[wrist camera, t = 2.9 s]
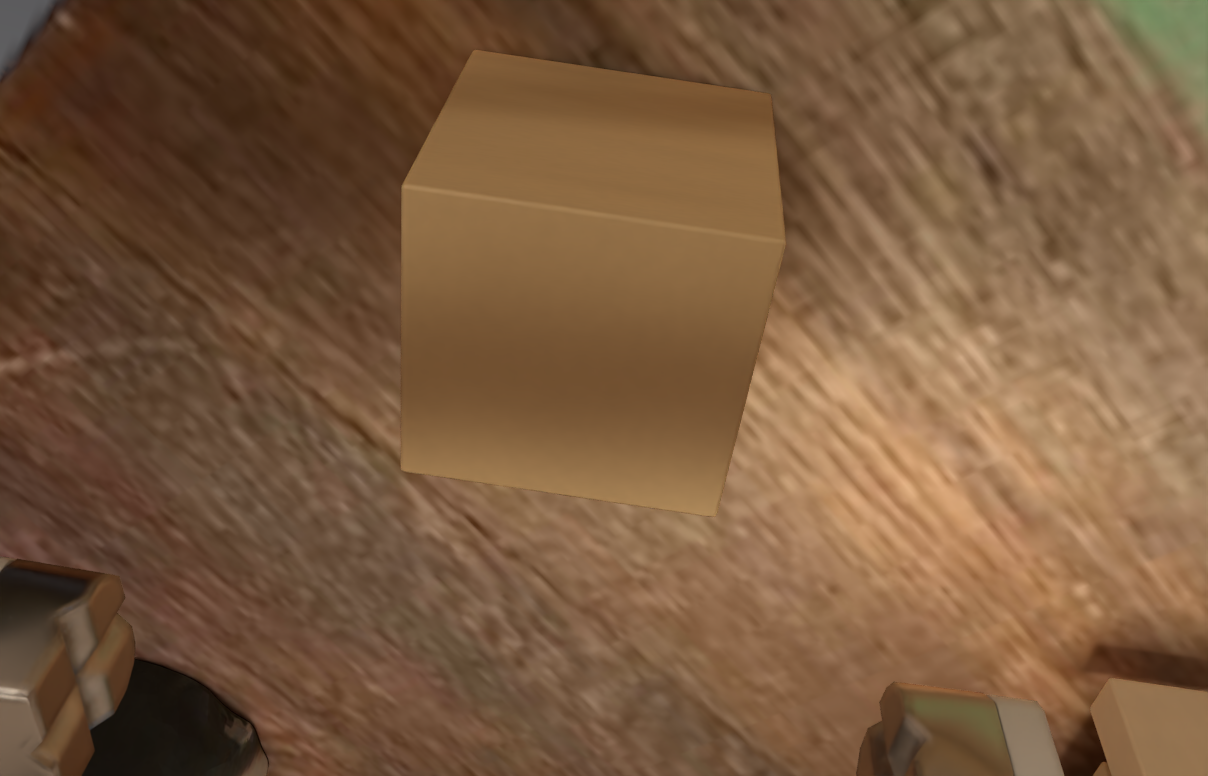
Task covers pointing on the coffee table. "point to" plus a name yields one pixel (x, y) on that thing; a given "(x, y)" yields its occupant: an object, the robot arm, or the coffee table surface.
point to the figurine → (173, 732)
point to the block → (586, 281)
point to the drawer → (1151, 729)
